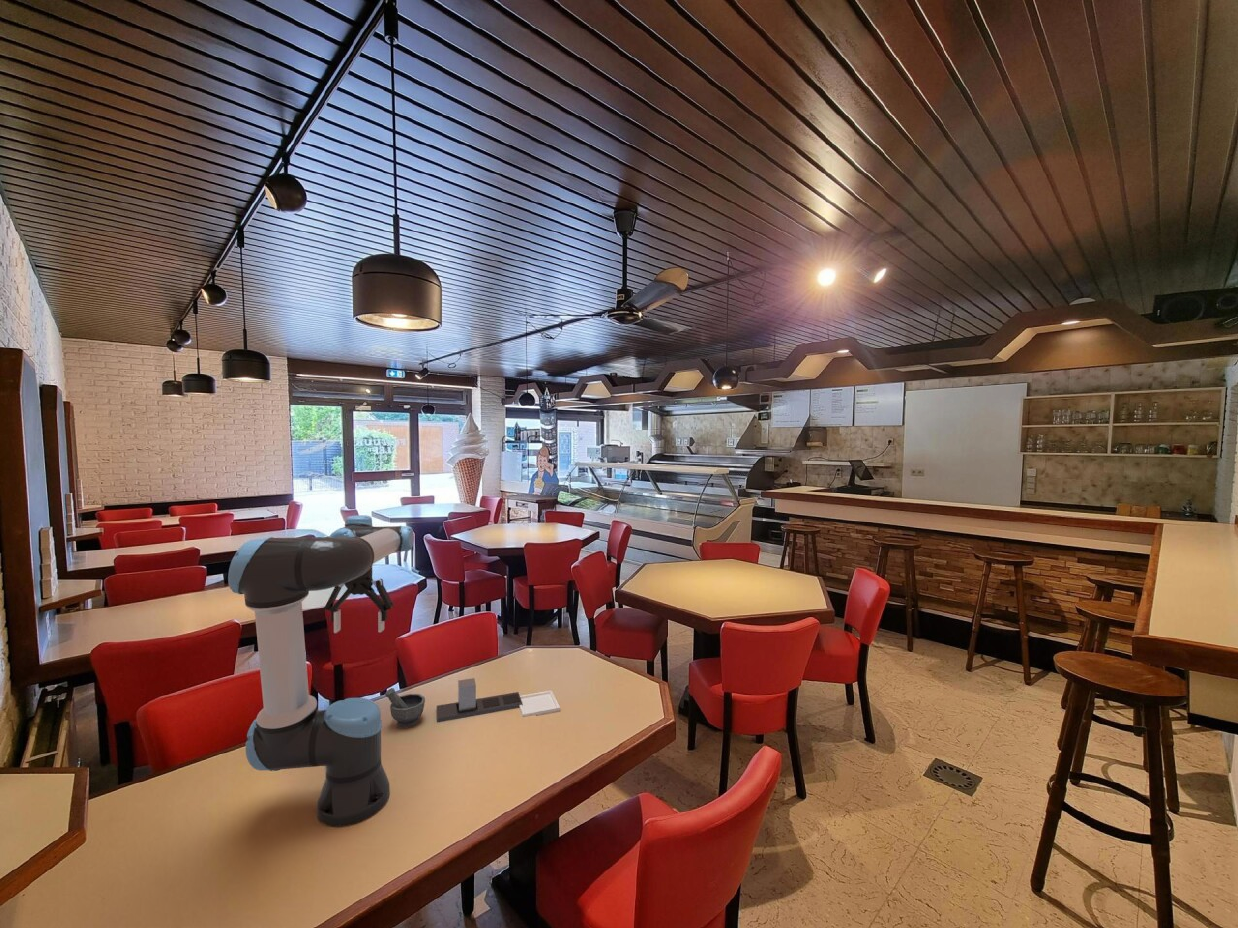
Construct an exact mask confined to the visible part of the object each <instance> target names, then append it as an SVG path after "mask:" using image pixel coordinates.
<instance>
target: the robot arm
mask: <svg viewBox="0 0 1238 928" xmlns="http://www.w3.org/2000/svg"><path fill="white" fill-rule="evenodd" d="M414 538H415V536H414V530H413V528H412V527H411V526H407V525H398V526H396V525H393V526H391V525H390V526H373V519H372V516H370V515H366V514H365V515H363V514H361V515H360V514H359V515H350V516H346V518H345V524H344V526H343V527H340V528H337V529H336V530H334V531H333V532H332V533H330V534H329V536H328V537H327V536H325V537H324V536H318V537H317V536H313V537H308V536H307V537H272V536H269V537H266V538H264V537H263V538H254V539H250V540H247V541H246V542H244V543H243V544H242V545H241V546H240V547H239V548H238V550H237V551H236V552H235V554H234V556H233V557H232V559H231V562H230V565H229V569H228V576H227V580H228V586H229V589H230V590H231V591H232V592H233V594H237V595H244V596H243V597H244V604H245V605H244V606H246V608H247V609H250V610H251V611H254V618H255V628H256V637H257V649H258V660H259V670H260V671H259V672H260V683H261V692H262V694H261V695H262V702H263V708H262V709H261V710H259V712H258V714H257V716H256V718H255V719H254V720H253V721H252V723H251V725H250V727H249V729H248V731H247V734H246V738H247V740H246V742H245V756H246V759H247V762H248V764H249V765H250V766H251V768H252V769H254V770H256V771H268V772H269V771H270V772H277V771H280V770H290V769H304V768H314V767H316V768H317V767H325V779H324V782H323V784H322V785H323V786H322V787H321V790H320V791H321V792H320V794H319V797H318V799H317V803H316V812H317V813H316V816H317V820H319V822H320V823H321V824H323V825H326V826H327V827H328V826H329V827H346V826H351V825H355V824H358V823H361V822H363V821H364V820H367V819H369V818H371V817H372V816H374V815H375V814H377V813H378V812H379V811H380V810H382V809H383V808H384V806H385V805H386V803H387V802H388V800H389V798H390V792H391V791H390V789H391V788H390V781H389V778H388V776H387V774H386V771H385V769H384V766H383V763H382V727H383V722H382V716H381V715H382V713H381V708H380V706H379V705H378V703H376V702H375V701H373V700H371V699H369V698H366V697H365V698H364V697H348V698H345V699H343V700H341V699H340V700H337V701H335V702H332V703H331V704H330V705H329V706H327V708H326V709H324V710H323V709H322V710H320V709H319V708H318V701H317V699H316V697H315V696H313V695H310V693H309V692H310V691H309V681H308V667H307V654H306V642H305V640H306V639H305V630H304V617H303V616H304V615H303V603H302V602H303V601H304V600H305V599H307V598H308V596H309V595H310V593H309V592H315V591H316V592H317V591H323V590H324V591H325V590H328V589H331V588H333V590H332V592H331V594H330V596H329V597H328V600H327V602H326V603H325V605H324V607H323V609H324V610H325V611H329V612H330V621H331V622H333V633H334V634H337V633H339V632H340V631H341V629H342V627H341V625H342V624H341V623H342V622H341V621H342V619H341V617H342V616H341V615H342V614H341V613H342V612H341V609H340V607H341V606H342V605H343V603H344V602H345V601H346V600H347V599H348V597H350V595H353V596H354V595H360V596H362V595H365V596H366V597H368V598H369V599H370V600H371V601H372V602H373V603H374V605H375V606H376V607H377V608H378V609H379V611H377V612H378V613H377V615H378V616H377V617H378V619H377V620H378V621H377V623H378V624H377V626H378V630H377V631H378V633H382V632H384V630H385V621H387V619H388V610H390V609H391V608H393V607H394V603H393V601H392V599H391V597H390V595H389V593H388V592H387V589H386V588H385V586H384V580H383V578H379V579H373V565H375V564H376V563H377V562H379V561H381V560H383V559H384V558H386V557H387V556H390V555H391V554H393V553H395V552H400V553H402V552H409V551H411V550H412V548H413V546H414V541H415V540H414ZM344 586H345V587H346V590H345V592H343V593H342V595H341V596H340V597H339V598H338V596H339V594H340V592H341V590H342V588H343V587H344ZM373 586H374V587H375V588H376V590H377V592H378V594H377V592H376V591H375V589H374V588H373ZM337 598H338V600H337ZM336 600H337V601H336Z"/></svg>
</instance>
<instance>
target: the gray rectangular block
mask: <svg viewBox="0 0 1238 928" xmlns="http://www.w3.org/2000/svg"><path fill="white" fill-rule="evenodd" d="M475 679H476V678H474V677H473V678H466V679H461V680H459V679H458V680H457V702H458V711H459V713H463V712H469V711H474V710H476V699H477V695H476V694H477V693H476V692H477V691H476V690H477V689H476V688H477V686H476V685H477V684H476V681H475Z"/></svg>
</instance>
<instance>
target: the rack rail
mask: <svg viewBox="0 0 1238 928" xmlns="http://www.w3.org/2000/svg"><path fill="white" fill-rule="evenodd" d="M520 696H521V695H520V694H519V691H516V692H509V693H503V694H498V695H491V696H486V697H480V698H476V710H474V711H469V712H463V713H459V711H458V701H457V702H456V701H455V702H452V703H451V702H450V703H445V704H439V705H436V723H443V722H447V721H453V720H458V719H465V718H470V717H476V716H481V715H486V714H493V713H497V712H504V711H508V710H514V709H520V708H519V705H522V706H523V703H522V701H521V698H520Z"/></svg>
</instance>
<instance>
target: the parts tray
mask: <svg viewBox="0 0 1238 928" xmlns="http://www.w3.org/2000/svg"><path fill="white" fill-rule="evenodd" d="M520 698H521V701H522V703H523V706H522V705H519V708H518V709H519V711H520V713H521V717H522V718H526V717H530V716H536V717H537V716H542V715H545V714H546V715H548V714H552V713H553V714H554V713H557V712H561V706H560V704H559V702H558V701H557V698H556V696H555V695H554V692H553V690H546V691H539V692H534V693H528V694H523V695H520Z"/></svg>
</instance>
